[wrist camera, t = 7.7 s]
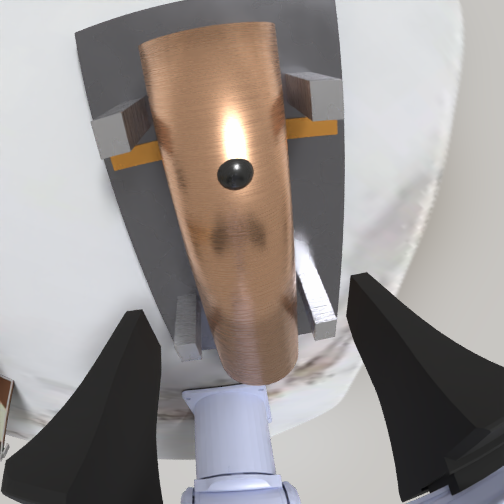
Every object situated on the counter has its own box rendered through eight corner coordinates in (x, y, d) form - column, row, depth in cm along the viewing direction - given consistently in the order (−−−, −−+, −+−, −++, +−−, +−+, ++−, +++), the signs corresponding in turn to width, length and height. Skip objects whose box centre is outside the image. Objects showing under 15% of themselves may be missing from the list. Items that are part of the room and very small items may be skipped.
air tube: (285, 316, 22) (310, 376, 18) (215, 333, 22) (229, 398, 18) (256, 30, 12) (297, 17, 8) (144, 49, 11) (127, 42, 7)
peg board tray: (332, 317, 24) (351, 369, 20) (179, 342, 24) (177, 397, 20) (326, -7, 11) (371, -25, 7) (82, 33, 11) (33, 31, 7)
